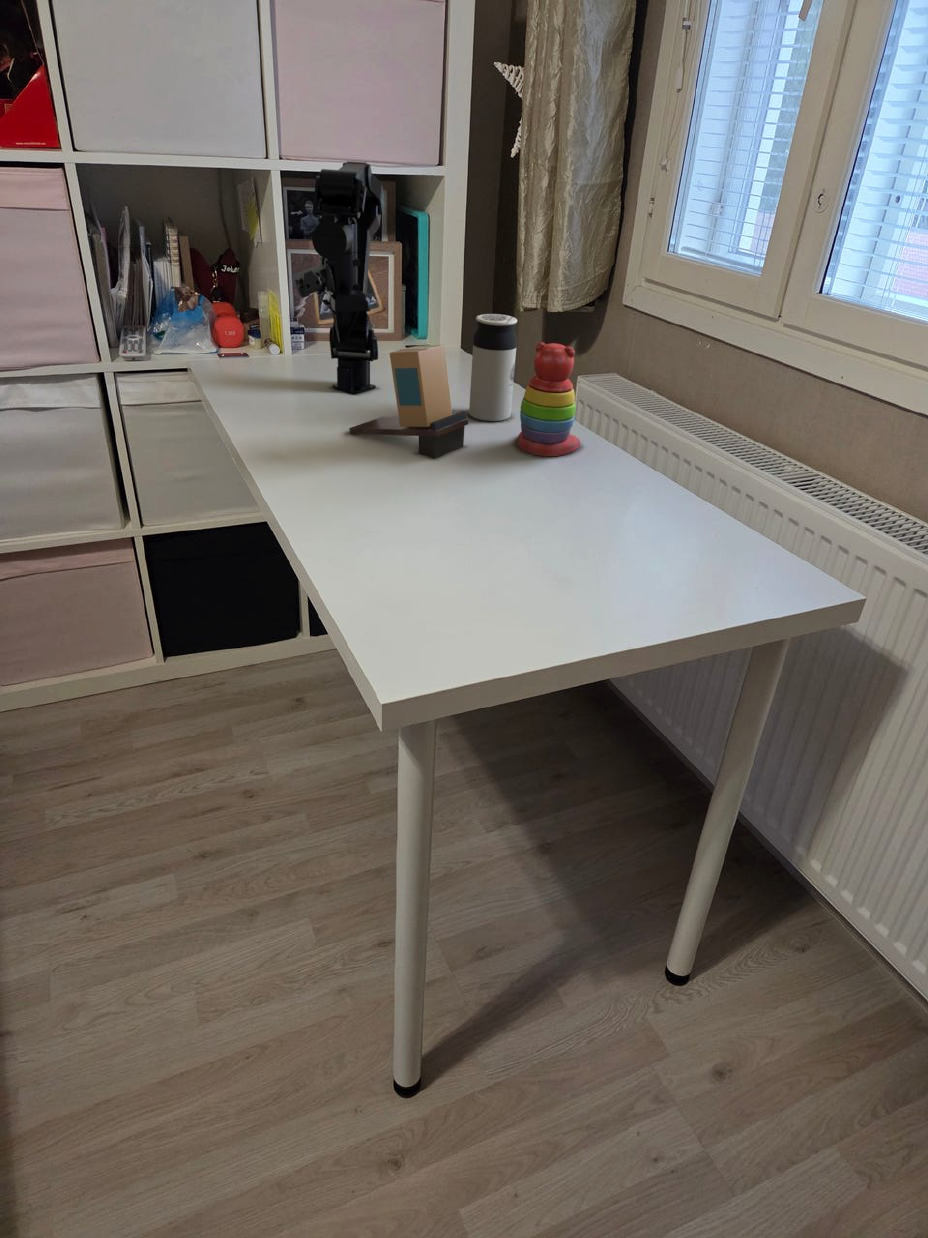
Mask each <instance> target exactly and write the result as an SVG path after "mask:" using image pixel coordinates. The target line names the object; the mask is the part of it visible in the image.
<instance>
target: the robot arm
mask: <svg viewBox="0 0 928 1238" xmlns="http://www.w3.org/2000/svg"><path fill="white" fill-rule="evenodd" d="M384 194H385V193H384V187H383V184H382V182H381V181H380V180H379V179H378V178H377V177H376V175H374V174H373V172H372V165H371V164H370V163H367V162H366V161H365V162H364V161H363V162H362V161H349V160H346V162H342V166H341V167H340V168H338V169H326V168H322V169H320V171H319V175H317V176H316V177H315V181H314V193H313V204H312V216H318V217H319V216H320V217H321V222H320V223H319V224H318V225H316V227H315V228H314V229H313V232H312V235H311V242H312V246H313V249H314V251H315V252H316V253H317V254H318V256H320V258H319V261H320V262H319V265H315V266H312V267H310V268H307V269H305V270H302V271H299V272H297V273H294V274H292V275H291V280H292V283H293V285H294V287H295V290H296V292H297V294H298V295H299V297H300V298H302V299H303V298H306V297H310V295H312V294H313V293H314V294H316V295H322V293H325V299H321V302H322V303H323V304H324V305H325V307H327V308H328V309H329V310H330V312H331V316H332V320H333V322H332V326H330V328H329V333H328V335H329V336H328V337H329V348H330V349H329V350H330V358H331V359H333V360H334V359H337V367H336V383H334V384H332V386H331V387H332V388H333V389H337V390H339V391H342V392H343V391H344V392H347V393H350V394H356V395H357V394H360V393H365V392H367V391H370V390H374V389H376V388H377V385H376V384H372V383H371V362H374V361H377V360H379V344H378V337H377V336H376V334H375V330H374V329H373V325H372V324H373V323H372V322H371V318H370V316H369V314H368V312H371V299H370V298H369V296H368V295H367V292H368V282H369V281H368V279H369V266H370V255H371V253H370V251H371V240H372V237H374V235H376V233H377V231H378V230H379V228H380V226H381V218H382V217H381V216H384V214H385V195H384Z"/></svg>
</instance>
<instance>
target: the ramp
mask: <svg viewBox="0 0 928 1238" xmlns="http://www.w3.org/2000/svg"><path fill="white" fill-rule="evenodd" d="M468 425H469V418H468V415H467V411H465V410H464V411H463V410H462V411H459V412H456V413H452V415H451V416H448V417H445V418H443V419H440V420H437V421H435V422H432V423H430V426H429V427H407V426H400V422H399V416H379V417H377V418H375V419H371V420H369V421H366V422H363V423H360V424H356V425H354V426H351V427H349V428H348V430H349V434H353V435H378V436H403V437H405V436H407V437H418V440H417V443H418V444H417V454H418V455H420V456H424V457H427V458H430V459H433V460H435V459H438V458H440V457H443V456H445V455H447V454H450V453H452V452H454V451H456V450H459V449H461V448H463V447H464V443H465V427H466V426H468Z"/></svg>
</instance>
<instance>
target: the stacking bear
mask: <svg viewBox="0 0 928 1238" xmlns="http://www.w3.org/2000/svg"><path fill="white" fill-rule="evenodd" d="M535 351H536V353H535V355H534V359H533V368H534V372H535V375H534V376H533V377H531V379H530V380H529V382H528V384H527V386H526V388H525V391H524V394H523V397H522V399H521V400H522V401H521V404H520V412H519V418H520V419H519V420H520V429H521V431H520V433H518V436H517V442H516V443H517V446H518V448H519V449H521V450H522V451H523V452H525V453H528V454H531V455H534V456H542V457H556V456H557V457H558V456H563V455H568V454H570V453H573V452H575V451H577V450H578V449H579V448H580V446H581V440H580V439H579V437H577V436H576V435H574V434H571V429H572V428H573V425H574V422H575V419H576V394H575V389H574V385H573V383H572V382H571V380H570V379H569V377H570V375H571V373H572V372H573V369H574V364H575V357H574V356H575V354H576V352H575V349H574V348H573V347H572V346H569V345H567V346H565V345H563V344H561V343H555V342H554V343H553V342H552V343H545V342H543V341H541V342H538V343H537V344H536V346H535Z"/></svg>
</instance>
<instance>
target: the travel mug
mask: <svg viewBox="0 0 928 1238" xmlns="http://www.w3.org/2000/svg"><path fill="white" fill-rule="evenodd" d="M475 320H476V322H477V329H476V330H475V332H474V334H473V338H472V339H473V342H472V343H473V344H472V355H471V357H472V358H471V372H470V373H471V374H470V375H471V376H470V390H469V404H468V405H469V407H468V414H469V415H470V416H471V417H472V418H474V419H476V420H480V421H483V422H484V421H485V422H501V421H505V420H507V419H509V418H510V417H511V415H512V402H513V391H514V380H515V369H516V368H515V367H516V355H517V344H518V337H517V334H516V331H515V327H516V325H517V323H518V319H517V318H516V317H514V316H511V315H507V314H501V313H500V314H499V313H484V314H480V315H479V314H478V315H477V316H476V318H475Z"/></svg>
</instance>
